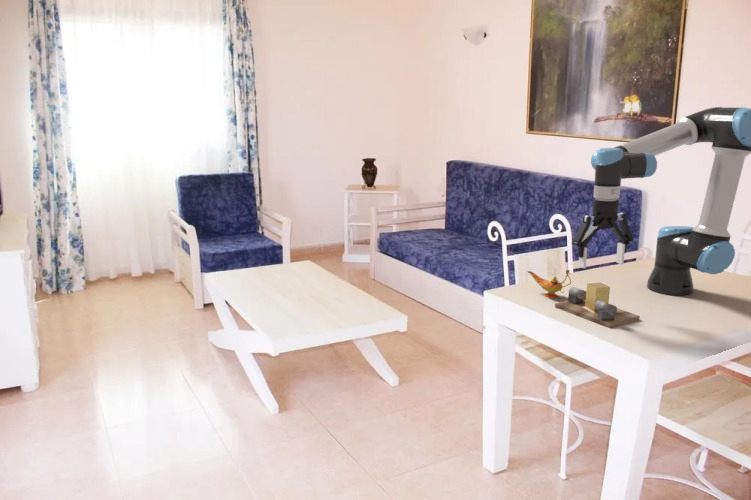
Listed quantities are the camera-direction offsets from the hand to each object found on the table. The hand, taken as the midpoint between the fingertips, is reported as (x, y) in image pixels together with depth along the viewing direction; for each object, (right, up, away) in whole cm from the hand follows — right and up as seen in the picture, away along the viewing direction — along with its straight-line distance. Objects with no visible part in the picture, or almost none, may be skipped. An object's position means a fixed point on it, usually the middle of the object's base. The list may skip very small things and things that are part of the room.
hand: (601, 265), depth 196 cm
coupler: (0, -14, +3) cm, 15 cm away
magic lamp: (-11, -11, +22) cm, 27 cm away
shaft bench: (0, -16, +4) cm, 16 cm away
